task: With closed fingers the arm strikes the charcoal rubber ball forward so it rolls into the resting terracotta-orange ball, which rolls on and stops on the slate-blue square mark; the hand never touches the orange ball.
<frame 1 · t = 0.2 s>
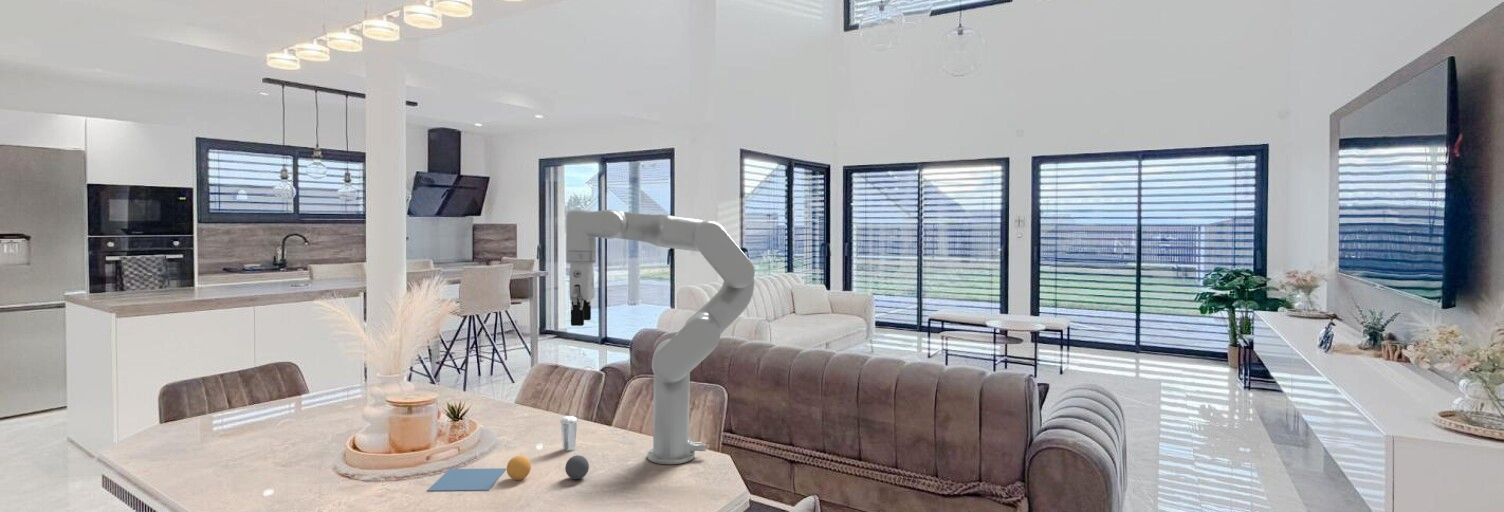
hand: (581, 322, 184), 36 cm above the table, tool pointing down, fingers open, 9 cm apart
object ball: (518, 467, 170), on the table
milkshake: (570, 450, 193), on the table
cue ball: (577, 467, 171), on the table
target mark: (468, 479, 170), on the table
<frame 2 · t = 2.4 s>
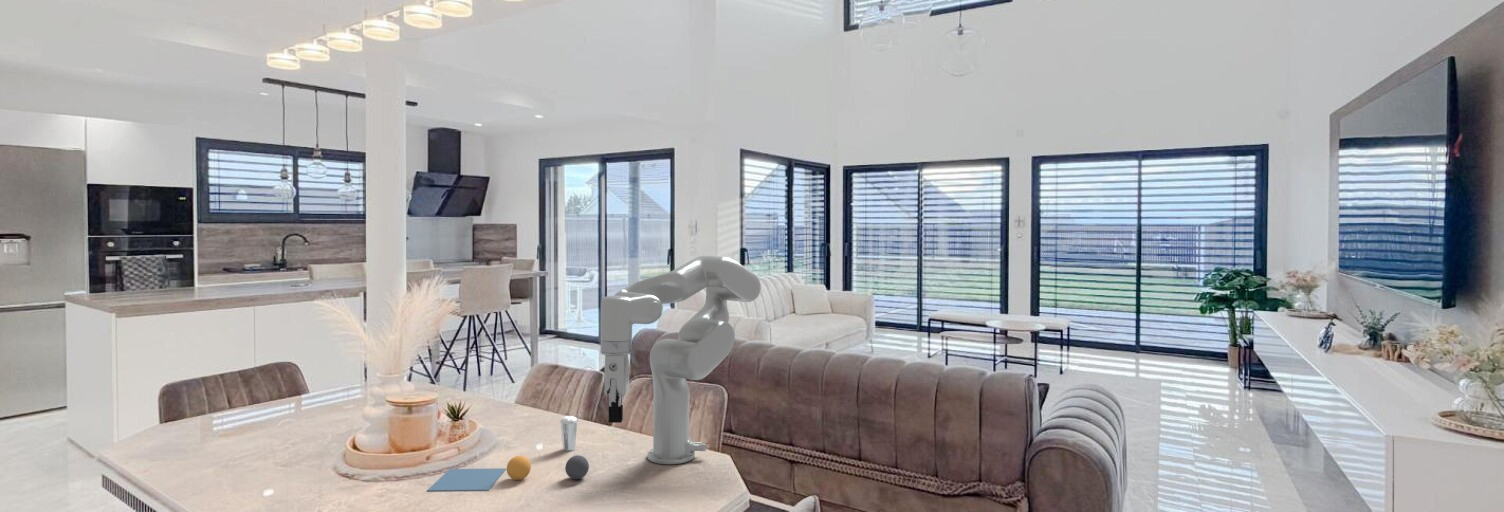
hand: (615, 421, 171), 14 cm above the table, tool pointing down, fingers closed
nothing on the table moved.
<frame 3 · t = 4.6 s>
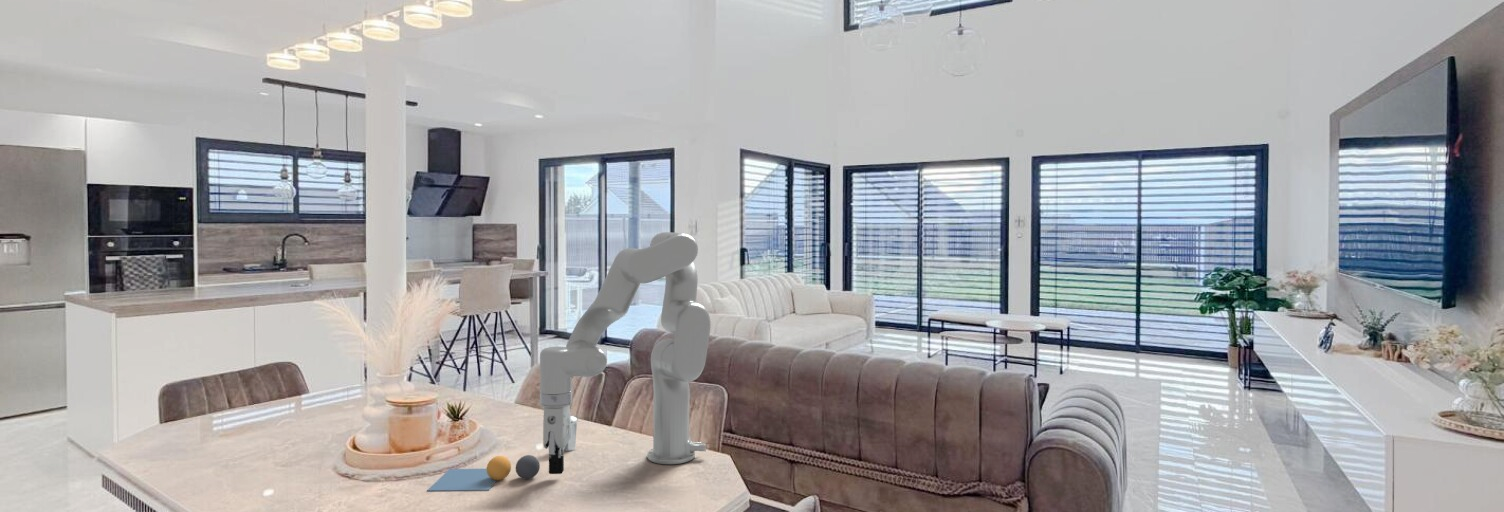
hand: (556, 472, 171), 2 cm above the table, tool pointing down, fingers closed
object ball: (498, 468, 170), on the table
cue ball: (527, 467, 171), on the table
everything else where it was.
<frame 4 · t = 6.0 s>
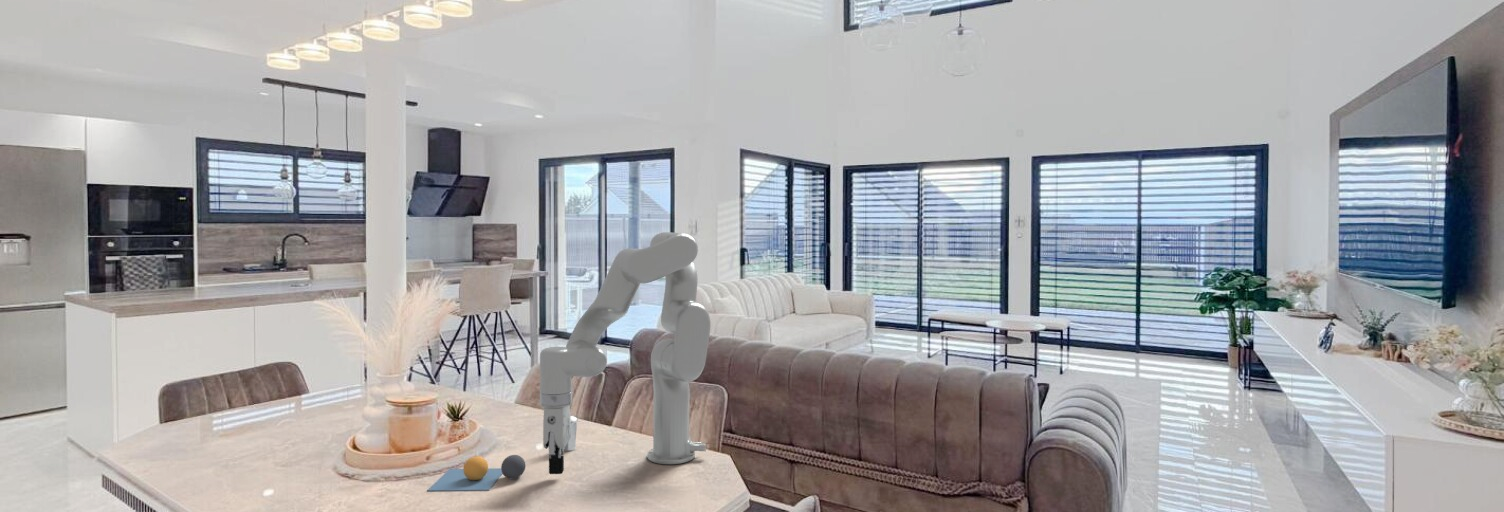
hand: (556, 472, 171), 2 cm above the table, tool pointing down, fingers closed
object ball: (475, 468, 170), on the table
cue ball: (513, 466, 171), on the table
everything else where it was.
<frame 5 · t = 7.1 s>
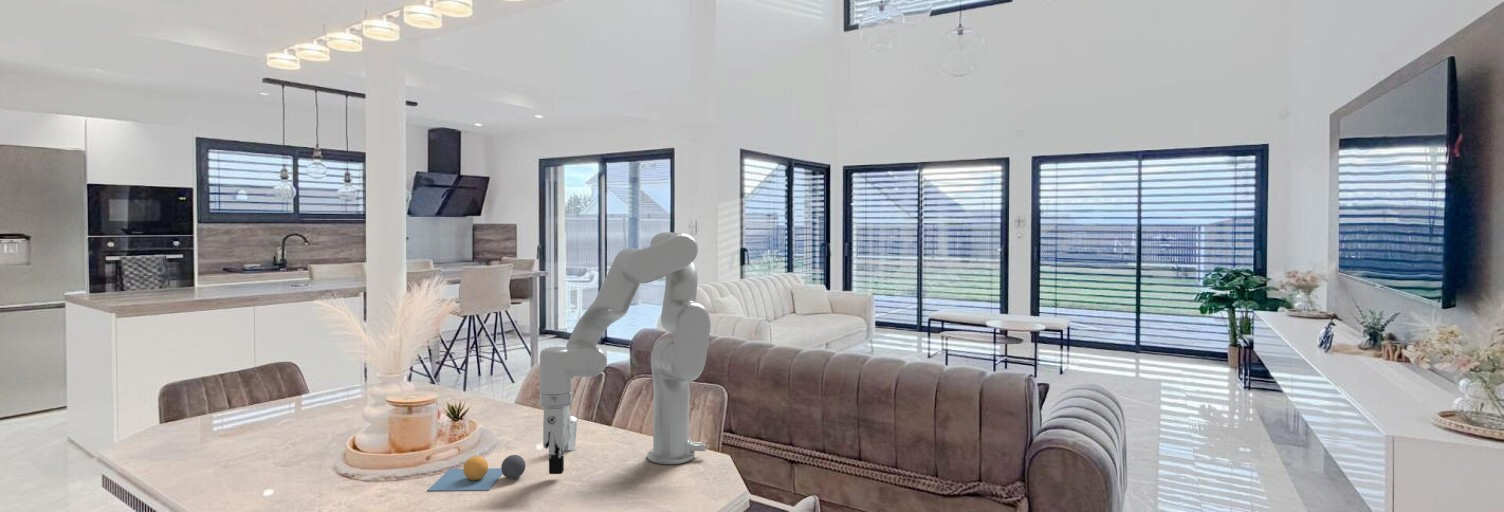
hand: (556, 472, 171), 2 cm above the table, tool pointing down, fingers closed
nothing on the table moved.
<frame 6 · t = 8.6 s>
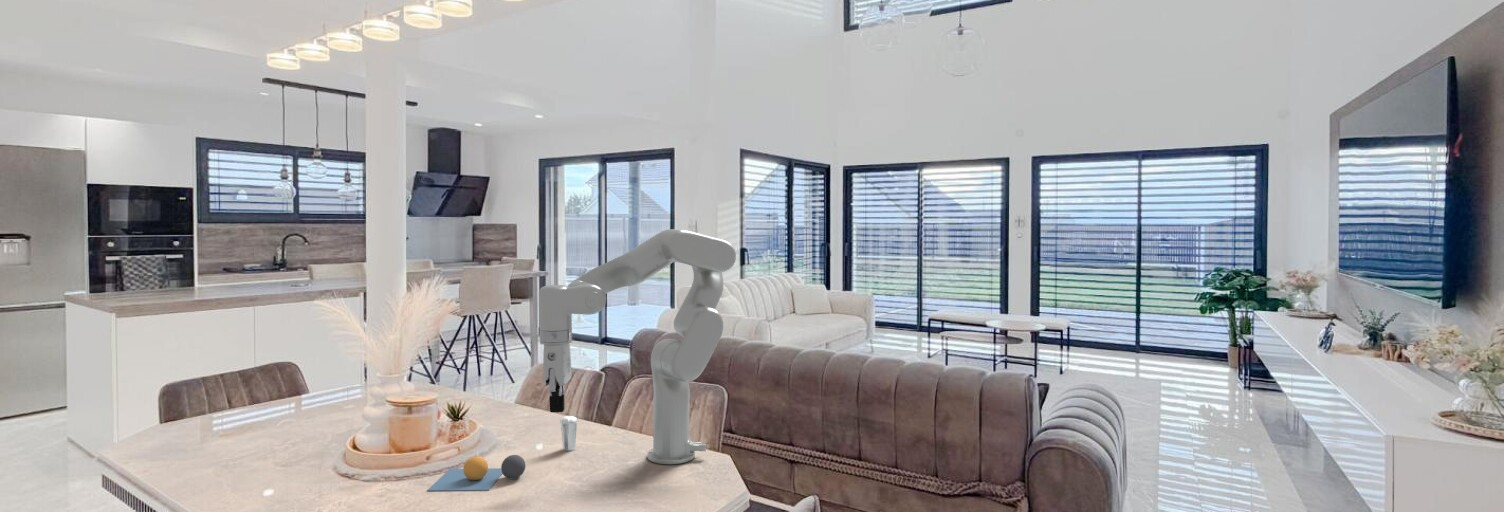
hand: (557, 411, 170), 17 cm above the table, tool pointing down, fingers closed
nothing on the table moved.
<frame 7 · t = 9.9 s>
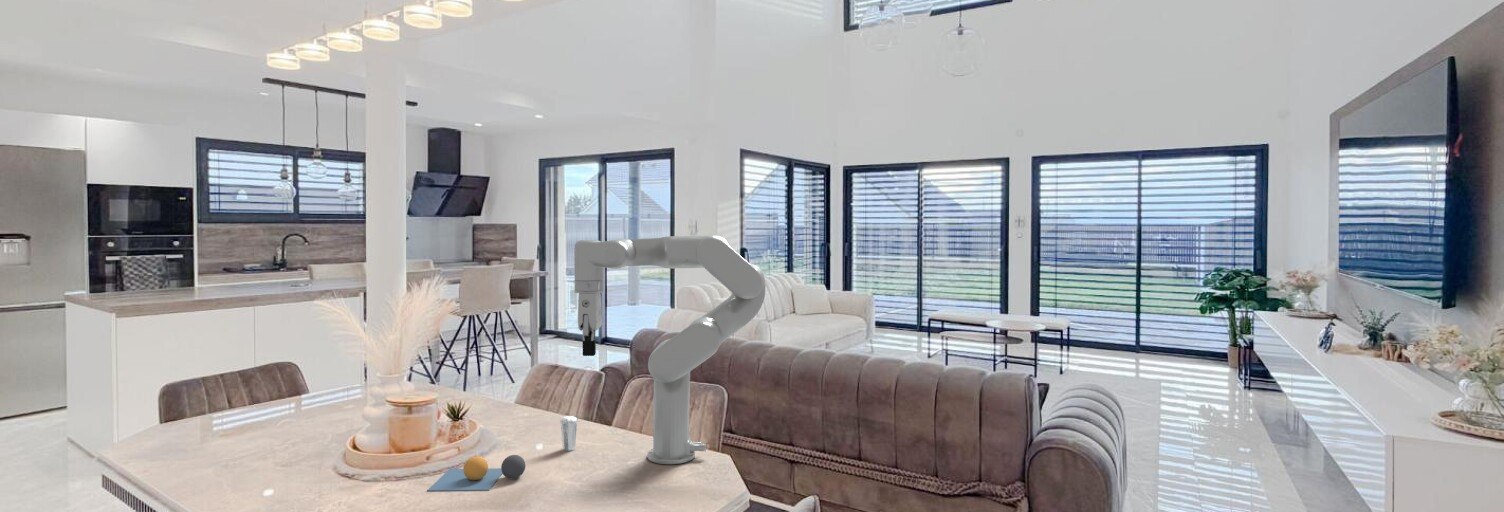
hand: (589, 355, 187), 27 cm above the table, tool pointing down, fingers closed
nothing on the table moved.
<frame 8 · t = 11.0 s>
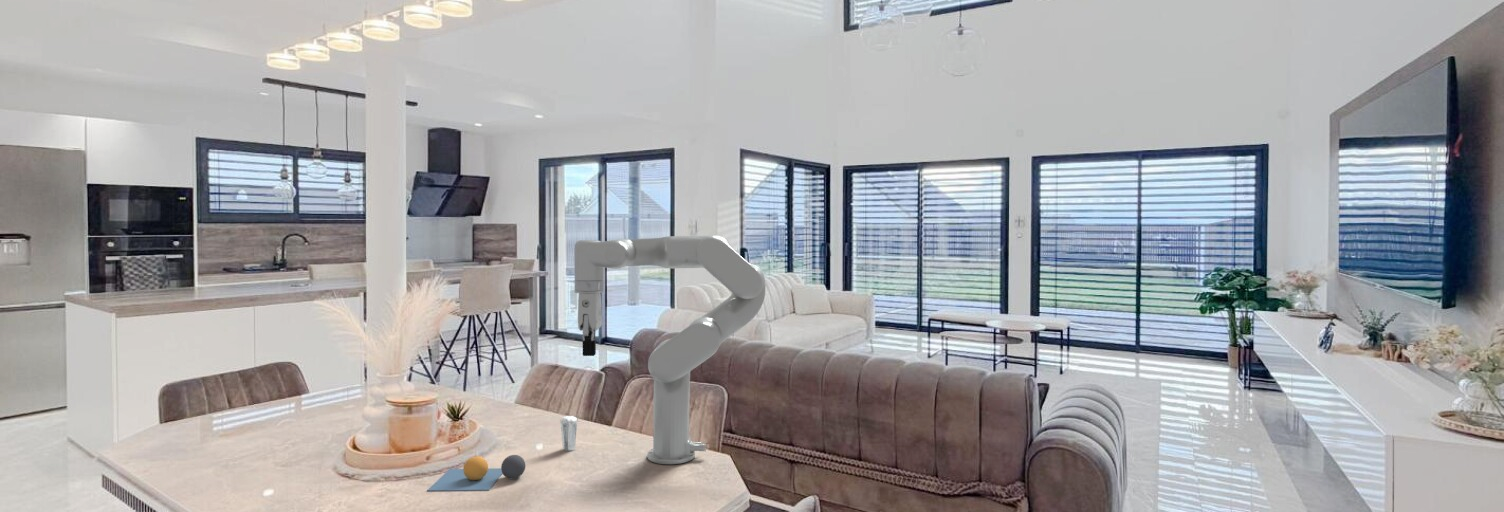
hand: (589, 355, 187), 27 cm above the table, tool pointing down, fingers closed
nothing on the table moved.
at the end: object ball 1.8 cm from the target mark (horizontally); object ball never touched the robot; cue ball first touched object ball at 4.2 s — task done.
